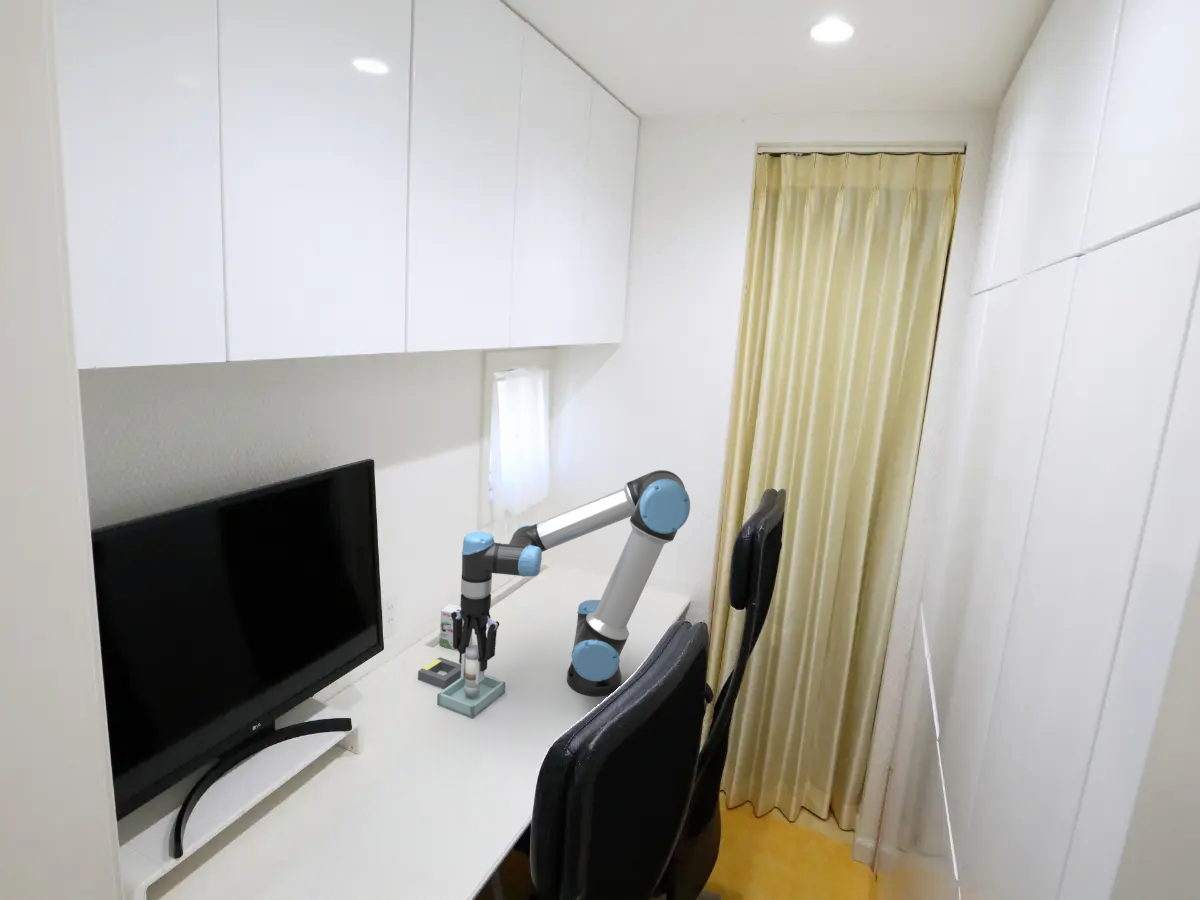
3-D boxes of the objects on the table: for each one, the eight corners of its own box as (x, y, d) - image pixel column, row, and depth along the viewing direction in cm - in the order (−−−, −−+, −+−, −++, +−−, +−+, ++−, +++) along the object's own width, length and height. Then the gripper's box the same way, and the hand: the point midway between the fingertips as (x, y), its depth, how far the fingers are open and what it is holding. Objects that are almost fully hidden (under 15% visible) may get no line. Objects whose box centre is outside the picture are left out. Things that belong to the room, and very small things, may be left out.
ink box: (438, 646, 197) (439, 609, 195) (447, 639, 202) (448, 603, 200) (464, 652, 195) (465, 615, 192) (472, 645, 199) (473, 608, 197)
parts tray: (504, 692, 175) (505, 681, 175) (472, 718, 163) (472, 707, 162) (471, 680, 180) (471, 670, 180) (437, 704, 168) (437, 693, 167)
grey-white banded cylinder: (482, 690, 172) (484, 647, 170) (473, 697, 169) (475, 653, 166) (470, 685, 174) (472, 643, 172) (460, 692, 170) (462, 649, 168)
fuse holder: (465, 674, 183) (465, 665, 182) (444, 689, 175) (444, 680, 174) (439, 665, 187) (440, 656, 186) (417, 679, 179) (418, 670, 178)
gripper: (512, 596, 166) (508, 681, 170) (458, 580, 173) (455, 663, 177) (495, 606, 159) (491, 695, 164) (439, 590, 166) (436, 675, 171)
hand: (472, 678), depth 171 cm, fingers closed on grey-white banded cylinder, 4 cm apart
